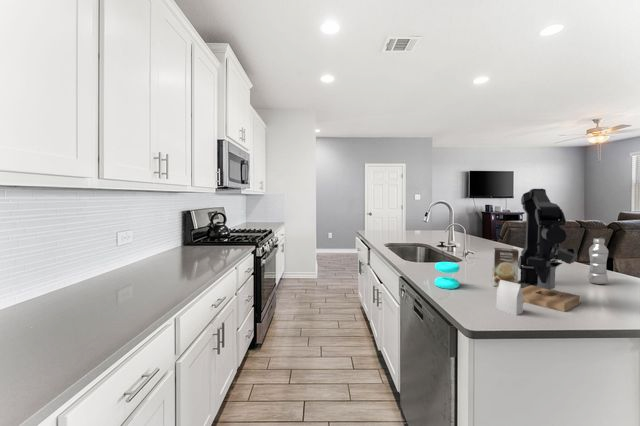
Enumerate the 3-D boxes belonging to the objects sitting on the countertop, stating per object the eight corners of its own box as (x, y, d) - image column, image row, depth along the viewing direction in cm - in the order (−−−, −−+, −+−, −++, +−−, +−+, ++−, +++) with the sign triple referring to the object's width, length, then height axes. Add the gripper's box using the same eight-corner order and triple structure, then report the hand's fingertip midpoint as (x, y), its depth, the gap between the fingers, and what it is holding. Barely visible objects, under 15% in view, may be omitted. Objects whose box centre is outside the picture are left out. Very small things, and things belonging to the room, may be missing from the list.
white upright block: (516, 315, 104) (517, 285, 103) (496, 309, 110) (496, 280, 109) (522, 313, 106) (523, 283, 105) (502, 307, 112) (503, 279, 111)
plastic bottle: (611, 286, 136) (613, 239, 135) (593, 285, 137) (595, 239, 136) (601, 282, 142) (603, 237, 141) (584, 281, 143) (585, 237, 142)
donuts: (441, 260, 144) (463, 263, 137) (441, 282, 145) (463, 286, 137) (430, 263, 138) (452, 267, 130) (430, 286, 138) (452, 291, 131)
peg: (550, 289, 114) (550, 266, 113) (537, 287, 117) (538, 264, 117) (555, 287, 116) (555, 264, 116) (542, 285, 120) (543, 262, 119)
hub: (513, 299, 120) (513, 290, 120) (530, 292, 127) (530, 284, 127) (564, 311, 106) (564, 302, 106) (579, 303, 114) (579, 294, 114)
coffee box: (493, 286, 137) (493, 249, 136) (492, 282, 143) (492, 247, 142) (517, 289, 133) (518, 251, 132) (515, 285, 139) (516, 248, 138)
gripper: (563, 245, 104) (562, 291, 105) (584, 240, 114) (582, 282, 115) (526, 241, 113) (525, 284, 114) (548, 237, 124) (547, 276, 124)
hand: (546, 282), depth 117 cm, fingers closed on peg, 4 cm apart
